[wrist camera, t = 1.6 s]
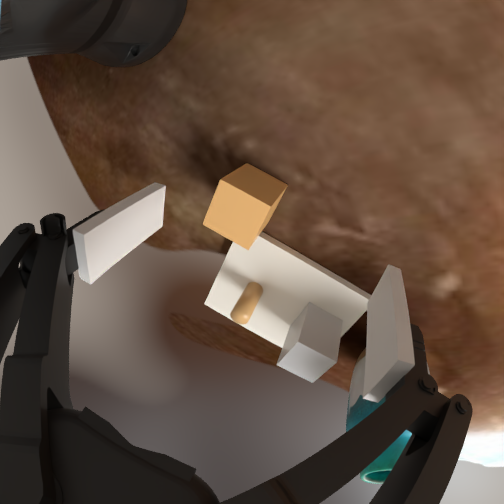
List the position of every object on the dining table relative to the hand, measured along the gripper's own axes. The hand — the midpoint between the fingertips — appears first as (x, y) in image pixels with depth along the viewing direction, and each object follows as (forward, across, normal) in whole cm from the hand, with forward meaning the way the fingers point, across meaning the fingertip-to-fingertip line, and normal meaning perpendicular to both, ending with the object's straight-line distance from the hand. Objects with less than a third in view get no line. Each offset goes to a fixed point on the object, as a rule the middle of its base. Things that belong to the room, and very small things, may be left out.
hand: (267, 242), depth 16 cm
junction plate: (+16, +2, -17) cm, 23 cm away
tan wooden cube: (+16, -5, -4) cm, 17 cm away
